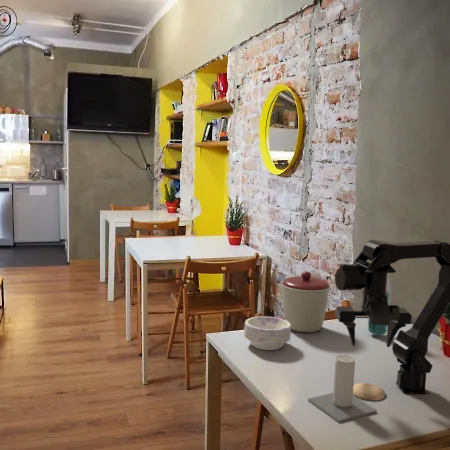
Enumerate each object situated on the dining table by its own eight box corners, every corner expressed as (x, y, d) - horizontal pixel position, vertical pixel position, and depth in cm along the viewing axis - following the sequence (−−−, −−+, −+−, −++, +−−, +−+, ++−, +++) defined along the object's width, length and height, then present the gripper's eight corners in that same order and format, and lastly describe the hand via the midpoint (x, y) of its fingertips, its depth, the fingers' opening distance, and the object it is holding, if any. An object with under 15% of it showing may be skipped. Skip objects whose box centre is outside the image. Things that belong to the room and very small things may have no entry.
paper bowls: (279, 336, 183) (280, 313, 182) (297, 352, 169) (298, 328, 167) (238, 339, 179) (238, 316, 178) (252, 356, 164) (253, 331, 163)
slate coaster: (344, 392, 141) (344, 390, 141) (376, 412, 131) (376, 410, 131) (308, 400, 136) (308, 398, 136) (338, 422, 125) (338, 420, 125)
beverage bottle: (388, 334, 187) (392, 280, 184) (383, 340, 182) (387, 283, 179) (370, 331, 191) (374, 277, 188) (364, 336, 185) (368, 280, 182)
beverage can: (338, 397, 137) (341, 353, 135) (355, 403, 134) (358, 358, 132) (329, 404, 133) (332, 358, 131) (346, 410, 130) (349, 364, 128)
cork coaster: (379, 385, 146) (379, 383, 146) (389, 400, 137) (389, 398, 137) (346, 384, 146) (346, 382, 146) (355, 400, 137) (355, 398, 137)
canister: (339, 331, 189) (343, 274, 186) (301, 340, 179) (304, 279, 176) (305, 317, 204) (308, 264, 201) (268, 324, 194) (271, 268, 191)
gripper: (346, 296, 129) (342, 357, 131) (422, 298, 130) (416, 359, 132) (336, 285, 140) (333, 341, 142) (406, 286, 141) (401, 343, 143)
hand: (370, 346), depth 140 cm, fingers open, 9 cm apart
